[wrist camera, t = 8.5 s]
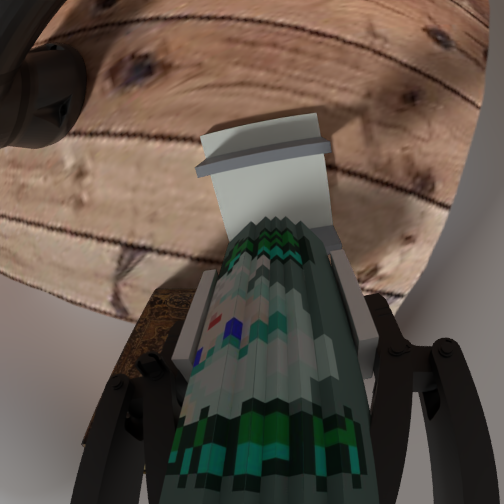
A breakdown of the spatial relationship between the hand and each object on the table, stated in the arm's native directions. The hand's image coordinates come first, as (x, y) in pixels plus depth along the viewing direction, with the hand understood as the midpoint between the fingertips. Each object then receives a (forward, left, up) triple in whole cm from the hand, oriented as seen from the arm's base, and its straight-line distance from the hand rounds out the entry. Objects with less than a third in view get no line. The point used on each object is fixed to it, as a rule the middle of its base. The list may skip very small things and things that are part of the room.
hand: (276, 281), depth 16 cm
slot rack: (0, 0, -17) cm, 17 cm away
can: (0, 0, -2) cm, 2 cm away
